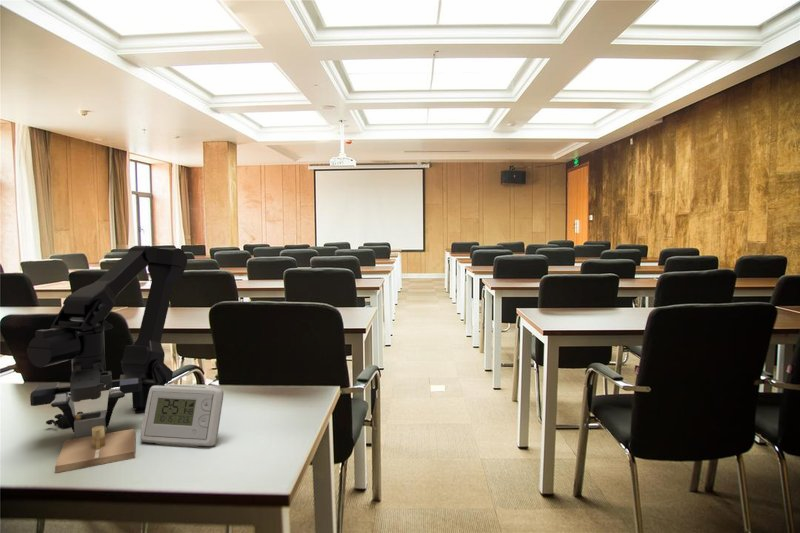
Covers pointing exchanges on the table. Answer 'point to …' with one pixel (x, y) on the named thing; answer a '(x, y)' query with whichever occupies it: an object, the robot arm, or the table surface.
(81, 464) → the wooden base plate
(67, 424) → the wireless earbuds
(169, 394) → the digital clock
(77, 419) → the square gray frame
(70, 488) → the table surface
